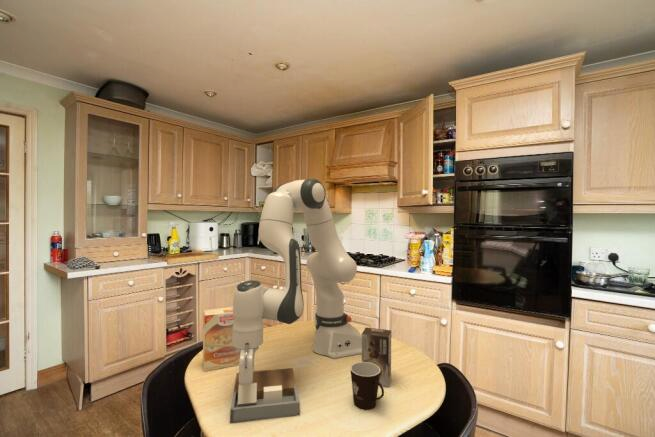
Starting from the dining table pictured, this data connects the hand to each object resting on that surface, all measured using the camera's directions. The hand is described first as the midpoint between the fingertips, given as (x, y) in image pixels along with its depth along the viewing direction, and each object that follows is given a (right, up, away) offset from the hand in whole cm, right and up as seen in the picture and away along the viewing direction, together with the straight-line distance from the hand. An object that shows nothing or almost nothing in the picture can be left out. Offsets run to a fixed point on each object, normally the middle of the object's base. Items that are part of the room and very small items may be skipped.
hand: (247, 384), depth 93 cm
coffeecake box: (-13, -4, +21) cm, 26 cm away
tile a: (+8, -1, -5) cm, 10 cm away
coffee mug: (+35, -5, -3) cm, 35 cm away
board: (+4, -4, +5) cm, 8 cm away
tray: (+6, -4, -5) cm, 9 cm away
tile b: (+1, -1, -4) cm, 4 cm away
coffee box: (+40, -5, +11) cm, 42 cm away
